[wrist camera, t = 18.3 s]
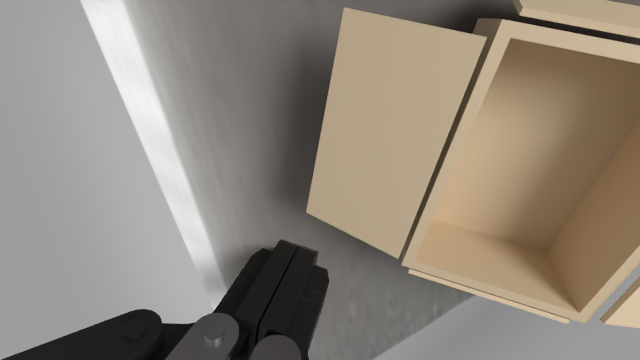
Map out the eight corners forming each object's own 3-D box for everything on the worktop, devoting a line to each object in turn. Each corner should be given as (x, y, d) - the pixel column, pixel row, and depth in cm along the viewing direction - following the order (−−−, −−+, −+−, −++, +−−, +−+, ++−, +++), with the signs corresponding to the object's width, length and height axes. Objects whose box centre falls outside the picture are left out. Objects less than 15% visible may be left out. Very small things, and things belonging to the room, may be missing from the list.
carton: (491, -17, 23) (522, -30, 16) (713, 23, 21) (856, 27, 14) (398, 230, 35) (393, 283, 28) (536, 272, 33) (568, 340, 26)
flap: (486, 37, 18) (346, 7, 21) (486, 37, 18) (344, 7, 21) (399, 256, 26) (308, 210, 30) (397, 258, 26) (306, 212, 29)
